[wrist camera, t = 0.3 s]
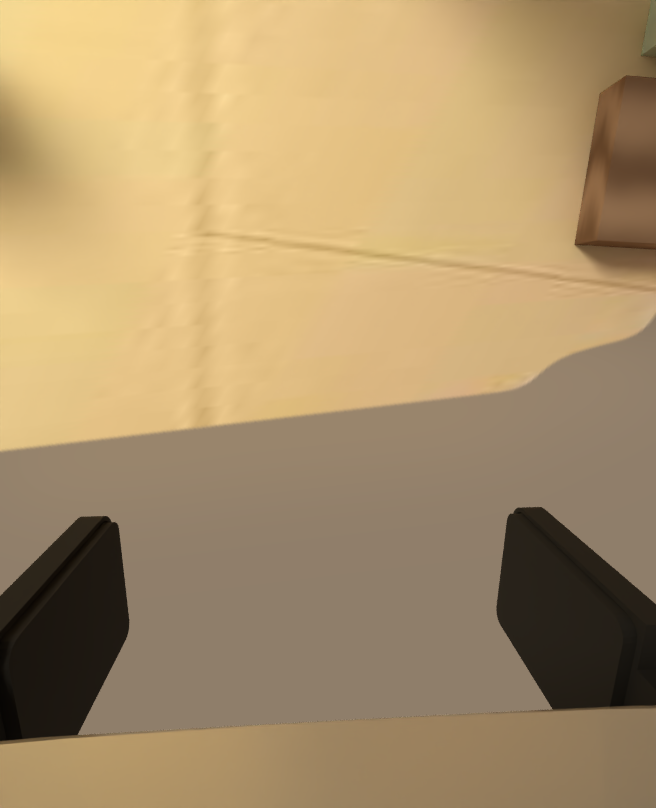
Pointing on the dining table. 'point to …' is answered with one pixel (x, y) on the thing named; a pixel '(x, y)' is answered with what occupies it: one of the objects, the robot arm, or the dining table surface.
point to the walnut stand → (622, 169)
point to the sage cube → (650, 33)
